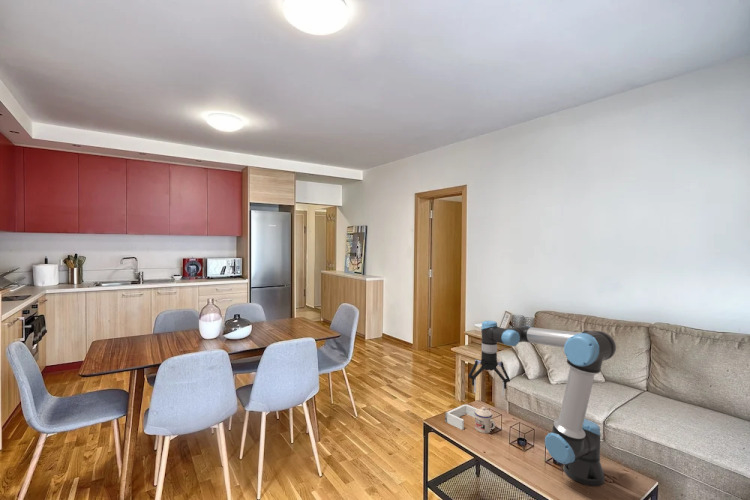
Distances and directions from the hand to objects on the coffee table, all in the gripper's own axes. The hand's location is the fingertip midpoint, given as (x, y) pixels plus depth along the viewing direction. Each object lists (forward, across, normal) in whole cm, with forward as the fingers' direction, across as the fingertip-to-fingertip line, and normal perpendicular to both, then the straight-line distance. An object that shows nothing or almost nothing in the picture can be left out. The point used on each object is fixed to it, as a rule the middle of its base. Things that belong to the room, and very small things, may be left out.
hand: (488, 393), depth 182 cm
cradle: (+23, +13, -17) cm, 31 cm away
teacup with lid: (+23, +1, -9) cm, 25 cm away
